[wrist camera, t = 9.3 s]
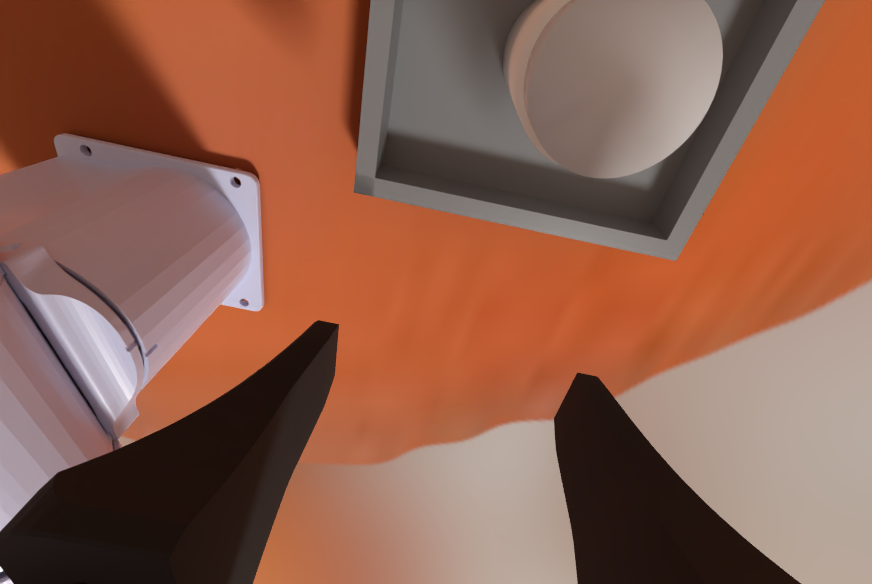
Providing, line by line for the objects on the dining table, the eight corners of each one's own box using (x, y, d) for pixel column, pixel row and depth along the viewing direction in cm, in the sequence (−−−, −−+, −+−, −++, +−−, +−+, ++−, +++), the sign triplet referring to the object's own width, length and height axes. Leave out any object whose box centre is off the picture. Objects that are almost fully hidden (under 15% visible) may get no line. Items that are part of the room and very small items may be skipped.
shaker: (494, 113, 17) (503, 176, 11) (514, -19, 15) (543, -51, 8) (601, 125, 17) (681, 196, 10) (639, -6, 15) (776, -27, 8)
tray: (367, 174, 20) (353, 192, 18) (404, -196, 13) (391, -238, 11) (655, 236, 20) (675, 260, 18) (827, -93, 14) (890, -115, 12)
